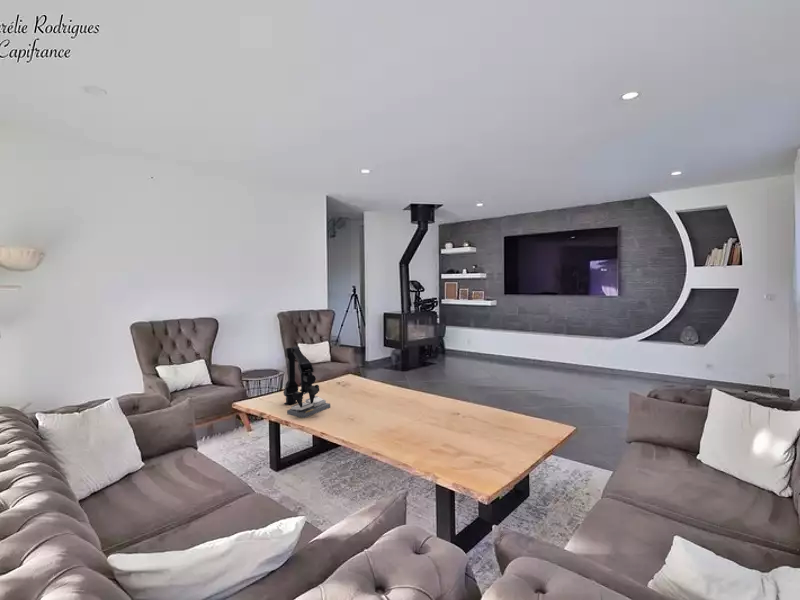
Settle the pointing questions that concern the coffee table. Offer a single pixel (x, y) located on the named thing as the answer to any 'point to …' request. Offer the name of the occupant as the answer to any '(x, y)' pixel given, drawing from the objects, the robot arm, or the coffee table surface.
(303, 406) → the grey flat slab
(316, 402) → the rocker
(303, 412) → the switch unit
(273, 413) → the coffee table surface
